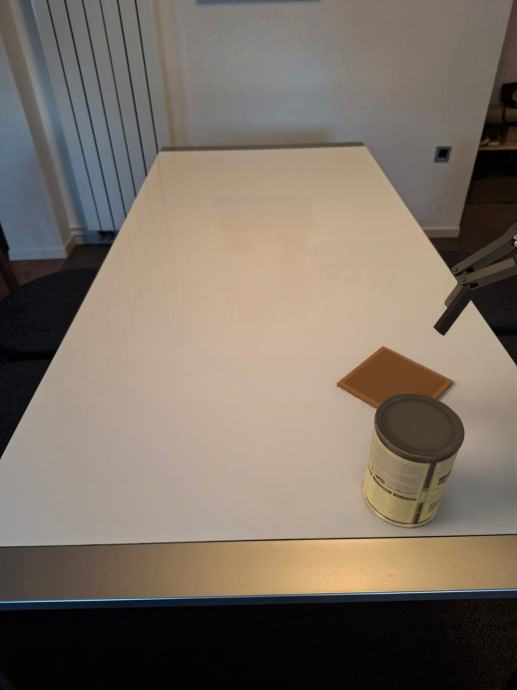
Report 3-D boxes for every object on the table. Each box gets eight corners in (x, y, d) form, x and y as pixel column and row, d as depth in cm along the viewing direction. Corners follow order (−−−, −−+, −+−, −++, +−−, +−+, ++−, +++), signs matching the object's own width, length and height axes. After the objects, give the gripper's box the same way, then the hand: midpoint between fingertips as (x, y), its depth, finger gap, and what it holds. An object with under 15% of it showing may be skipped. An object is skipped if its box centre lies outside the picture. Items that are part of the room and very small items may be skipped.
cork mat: (452, 383, 84) (453, 380, 84) (408, 427, 77) (409, 425, 76) (382, 348, 92) (383, 345, 92) (336, 385, 84) (336, 382, 84)
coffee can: (372, 454, 73) (386, 383, 64) (444, 478, 69) (469, 407, 60) (352, 511, 65) (364, 439, 57) (432, 540, 62) (458, 470, 53)
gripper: (717, 266, 53) (589, 424, 55) (506, 195, 69) (414, 320, 71) (726, 234, 47) (582, 412, 50) (494, 164, 63) (395, 302, 66)
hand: (483, 358), depth 61 cm, fingers open, 13 cm apart
